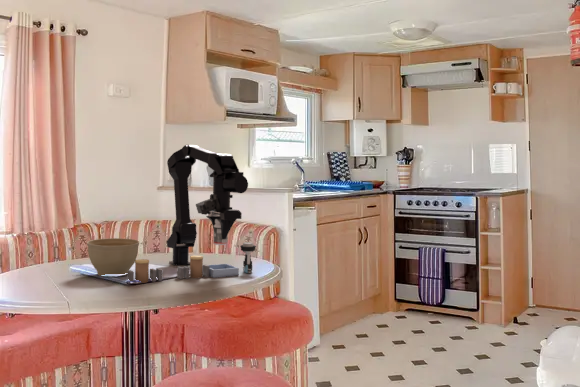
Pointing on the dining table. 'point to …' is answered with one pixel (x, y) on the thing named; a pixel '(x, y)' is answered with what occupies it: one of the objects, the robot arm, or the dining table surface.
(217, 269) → the tray
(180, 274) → the clip row
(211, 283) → the dining table surface
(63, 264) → the dining table surface
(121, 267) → the planter bowl
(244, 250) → the push button
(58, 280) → the dining table surface
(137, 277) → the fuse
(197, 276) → the tan cylinder
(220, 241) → the pill bottle
